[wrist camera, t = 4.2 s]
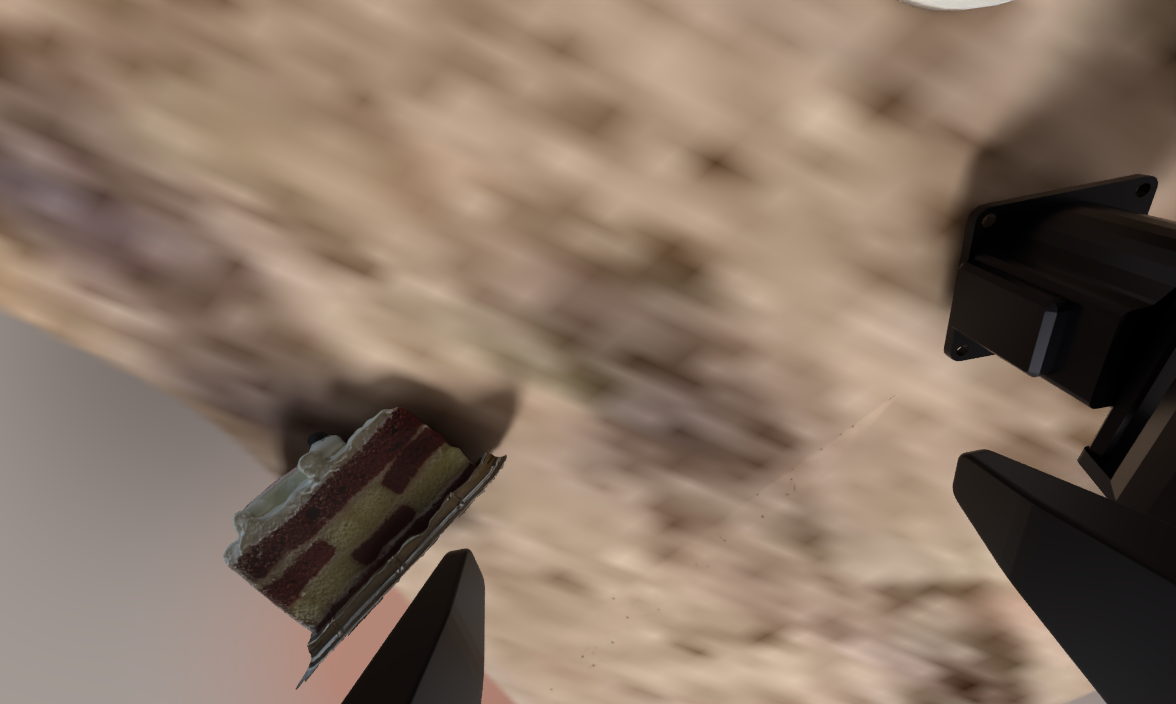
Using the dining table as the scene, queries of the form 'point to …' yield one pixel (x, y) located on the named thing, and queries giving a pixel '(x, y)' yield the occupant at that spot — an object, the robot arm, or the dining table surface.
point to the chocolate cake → (353, 522)
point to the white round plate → (952, 4)
